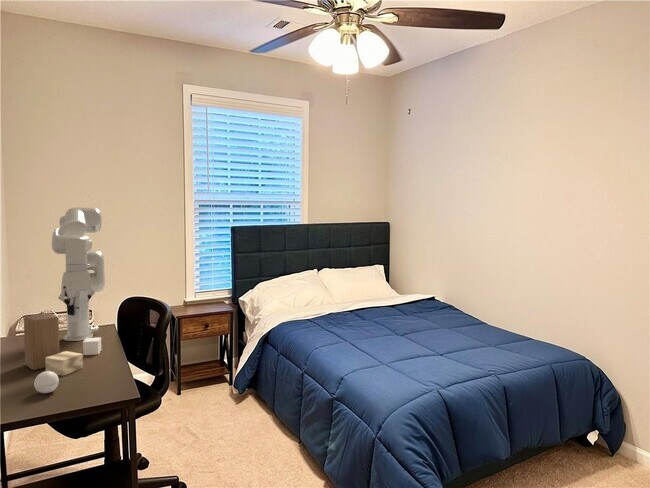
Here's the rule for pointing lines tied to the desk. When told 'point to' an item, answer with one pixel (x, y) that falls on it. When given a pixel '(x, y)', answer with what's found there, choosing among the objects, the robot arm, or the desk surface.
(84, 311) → the skincare box
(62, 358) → the beech block
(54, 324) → the block
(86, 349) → the cream white cube
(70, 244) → the robot arm
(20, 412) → the desk surface
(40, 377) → the white ellipsoid
